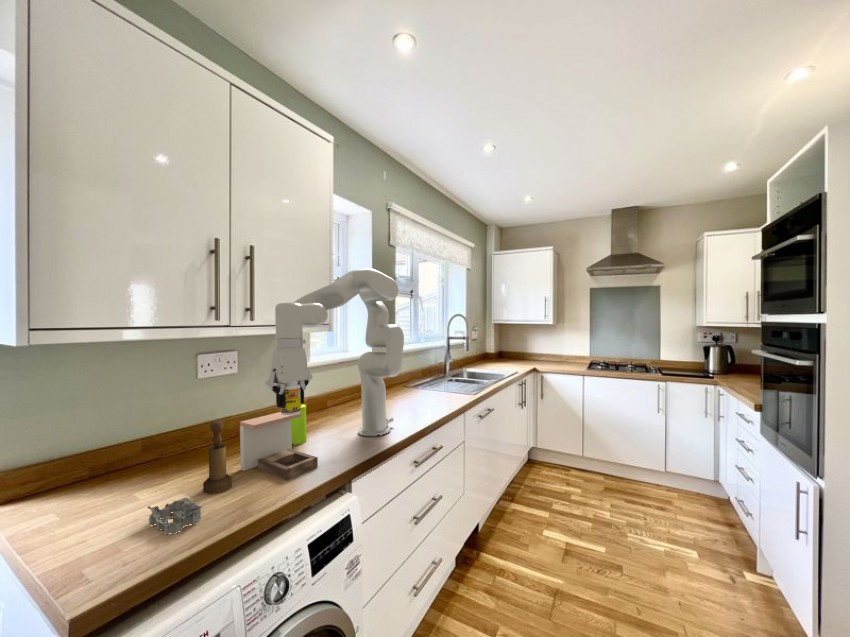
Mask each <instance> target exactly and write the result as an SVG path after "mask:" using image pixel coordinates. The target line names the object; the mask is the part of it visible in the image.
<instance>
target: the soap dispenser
mask: <svg viewBox="0 0 850 637" xmlns="http://www.w3.org/2000/svg"><path fill="white" fill-rule="evenodd" d="M299 413H301V417H299V418H295V419H291V438H292V444H293V445H292V446H294V445H295V446H296V445H297V444H298V445H302V443H303V444H305V443H306V442H307V405H306V404H304V403H303V404H301V411H300V412H299ZM298 445H297V446H298Z"/></svg>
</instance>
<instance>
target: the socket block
mask: <svg viewBox="0 0 850 637" xmlns="http://www.w3.org/2000/svg"><path fill="white" fill-rule="evenodd" d="M318 460H319V458H318V456H315V455H311V454H308V453H306V452H305V453H304V452H301V451H298V450H294V449H287V450H284V451H281V452H278V453H275V454H272V455H269V456H267V457H264V458H261V459H258V466H257V470H258V471H261V472H263V473H266V474H268V475H271V476H274V477H276V478H279V479H281V480H283V479H284V480H283V481H289V480H291V479H294V478H296V477H298V476H300V475H303V474H305V472H306V473H308V472H310V471H312V469H313V470H315V469H317V468H318V467H319V466H318V465H319V464H318V462H319V461H318Z"/></svg>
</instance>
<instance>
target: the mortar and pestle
mask: <svg viewBox="0 0 850 637" xmlns="http://www.w3.org/2000/svg"><path fill="white" fill-rule="evenodd" d="M209 427H210V431H211V432H212V433H213V437H212V444H213V445H211V446H209V447H208V477H207V478H206V480H205V481H203V483H202V485H203V487H202V490H203V494H206V495H216V494H217V495H218V494H222V493H225V492H226V491H229V490H231V488H232V485H233V483H232V480H233V479H232V476H231V475H229V474H227V444H224V443H223V444H222V441H223V436H221V432H222V430H223V428H224V422H223V421H222V420H221V419H216V420H213V421H212V422H211V423H210V425H209Z"/></svg>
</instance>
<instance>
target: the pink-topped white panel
mask: <svg viewBox="0 0 850 637" xmlns="http://www.w3.org/2000/svg"><path fill="white" fill-rule="evenodd" d="M299 417H301V413H297V414H293V415H283V414H281V411H279V412H276V413H275V412H274V413H270V414H267V415H262V416H259V417H254V418H251V419H246V420H241V421H240V422H239V438H240V440H239V441H240V442H239V444H240V445H239V446H240V447H239V448H240V450H239V451H240V470H241V471H244V472H245V471H247V470H250V469H251V470H252V469H253V468H256V467H258V459H261V458H264V457H267V456H269V455H272V454H275V453H278V452H281V451H284V450H287V449H292V448H293V445H292V438H291V419H295V418H299ZM292 450H293V449H292Z"/></svg>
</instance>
